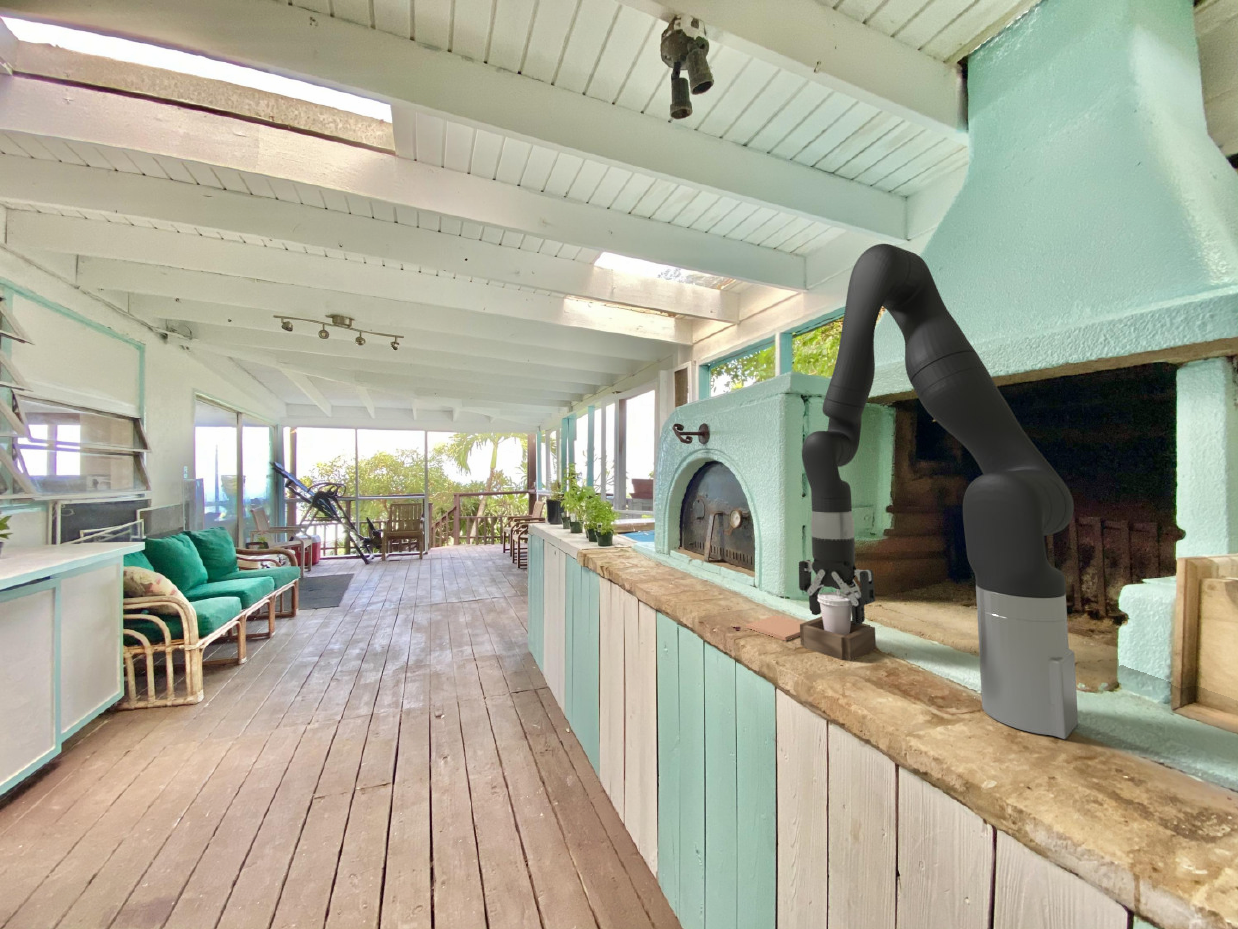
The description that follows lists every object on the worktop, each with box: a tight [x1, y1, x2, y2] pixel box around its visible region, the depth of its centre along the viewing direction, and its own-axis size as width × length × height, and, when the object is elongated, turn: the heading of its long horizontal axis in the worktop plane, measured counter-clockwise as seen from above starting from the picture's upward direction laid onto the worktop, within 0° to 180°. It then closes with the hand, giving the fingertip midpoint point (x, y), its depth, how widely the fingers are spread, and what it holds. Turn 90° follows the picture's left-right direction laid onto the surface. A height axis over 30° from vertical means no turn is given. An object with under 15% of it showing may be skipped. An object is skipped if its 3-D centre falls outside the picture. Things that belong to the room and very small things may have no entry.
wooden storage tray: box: [799, 616, 877, 662], centre depth 89 cm, size 10×10×4 cm
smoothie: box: [818, 589, 853, 636], centre depth 89 cm, size 6×6×14 cm
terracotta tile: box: [745, 614, 803, 642], centre depth 99 cm, size 10×10×1 cm
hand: (836, 619), depth 89 cm, fingers open, 8 cm apart
